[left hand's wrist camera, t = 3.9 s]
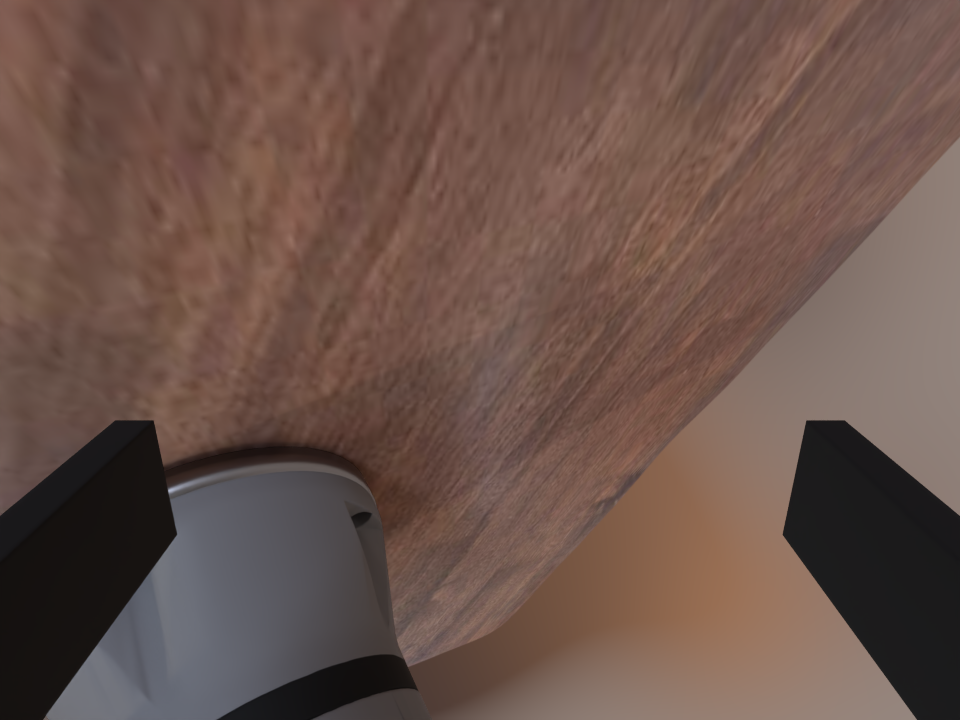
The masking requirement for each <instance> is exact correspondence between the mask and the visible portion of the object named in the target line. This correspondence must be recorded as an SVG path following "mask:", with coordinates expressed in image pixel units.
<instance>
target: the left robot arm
mask: <svg viewBox="0 0 960 720" xmlns="http://www.w3.org/2000/svg"><path fill="white" fill-rule="evenodd" d="M783 536H784V537H785V539H786V540H787V541H788V543H789V544H790V546H791V547H792V548H793V550H794V551H795V552H796V554H797V555H798V557H799V558H800V559H801V561H802V562H803V563H804V565H805V566H806V568H807V569H808V570H809V572H810V573H811V574H812V576H813V577H814V578H815V580H816V581H817V583H818V584H819V585H820V587H821V588H822V590H823V591H824V592H825V594H826V595H827V596H828V598H829V599H830V601H831V602H832V603H833V605H834V606H835V607H836V609H837V610H838V612H839V613H840V614H841V616H842V617H843V618H844V620H845V621H846V623H847V624H848V625H849V627H850V628H851V629H852V631H853V632H854V634H855V635H856V636H857V638H858V639H859V640H860V642H861V643H862V644H863V646H864V647H865V649H866V650H867V651H868V653H869V654H870V656H871V657H872V658H873V660H874V661H875V662H876V664H877V665H878V667H879V668H880V669H881V671H882V672H883V673H884V675H885V676H886V678H887V679H888V680H889V682H890V683H891V684H892V686H893V687H894V689H895V690H896V691H897V693H898V694H899V695H900V697H901V698H902V700H903V701H904V702H905V704H906V705H907V707H908V708H909V709H910V711H911V712H912V713H913V715H914V716H915V717H916V719H917V720H960V516H959V515H958V514H957V513H956V512H954V511H953V510H952V509H951V508H950V507H948V506H947V505H946V504H945V503H943V502H942V501H941V500H940V499H939V498H937V497H936V496H935V495H934V494H933V493H931V492H930V491H929V490H928V489H927V488H925V487H924V486H923V485H922V484H920V483H919V482H918V481H917V480H916V479H915V478H913V477H912V476H911V475H910V474H908V473H907V472H906V471H905V470H904V469H902V468H901V467H900V466H899V465H898V464H896V463H895V462H894V461H893V460H892V459H890V458H889V457H888V456H887V455H886V454H884V453H883V452H882V451H881V450H879V449H878V448H877V447H876V446H875V445H874V444H872V443H871V442H870V441H869V440H867V439H866V438H865V437H864V436H863V435H861V434H860V433H859V432H858V431H857V430H855V429H854V428H853V427H852V426H851V425H849V424H848V423H847V422H846V421H806V425H805V430H804V435H803V440H802V444H801V449H800V454H799V459H798V464H797V468H796V473H795V478H794V483H793V488H792V492H791V497H790V502H789V507H788V511H787V516H786V521H785V526H784V531H783ZM45 716H47V717H48V719H49V720H432V719H431V716H430V714H429V712H428V710H427V708H426V706H425V703H424V701H423V699H422V697H421V695H420V693H419V691H418V689H417V687H416V685H415V682H414V680H413V678H412V676H411V674H410V671H409V669H408V667H407V665H406V662H405V660H404V658H403V655H402V653H401V651H400V648H399V646H398V642H397V639H396V635H395V627H394V619H393V611H392V602H391V594H390V586H389V577H388V569H387V561H386V552H385V544H384V536H383V527H382V522H381V517H380V514H379V511H378V509H377V505H376V502H375V499H374V497H373V495H372V493H371V491H370V489H369V487H368V485H367V483H366V481H365V479H364V477H363V475H362V474H361V472H360V471H359V470H358V469H357V468H356V467H355V466H354V465H353V464H352V463H350V462H349V461H347V460H345V459H344V458H342V457H340V456H337V455H335V454H332V453H329V452H325V451H321V450H316V449H309V448H300V447H269V448H258V449H250V450H243V451H236V452H231V453H226V454H221V455H217V456H213V457H209V458H205V459H201V460H197V461H194V462H191V463H188V464H184V465H181V466H178V467H175V468H172V469H170V470H167V471H164V468H163V464H162V459H161V454H160V449H159V444H158V440H157V435H156V430H155V425H154V421H114V422H113V423H112V424H111V425H109V426H108V427H107V428H106V429H105V430H103V431H102V432H101V433H100V434H99V435H97V436H96V437H95V438H94V439H93V440H91V441H90V442H89V443H88V444H86V445H85V446H84V447H83V448H82V449H80V450H79V451H78V452H77V453H76V454H74V455H73V456H72V457H71V458H70V459H68V460H67V461H66V462H65V463H64V464H62V465H61V466H60V467H59V468H58V469H56V470H55V471H54V472H53V473H51V474H50V475H49V476H48V477H47V478H45V479H44V480H43V481H42V482H41V483H39V484H38V485H37V486H36V487H35V488H33V489H32V490H31V491H30V492H29V493H27V494H26V495H25V496H24V497H23V498H21V499H20V500H19V501H18V502H17V503H15V504H14V505H13V506H12V507H10V508H9V509H8V510H7V511H6V512H4V513H3V514H2V515H1V516H0V720H43V719H44V718H45Z"/></svg>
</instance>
